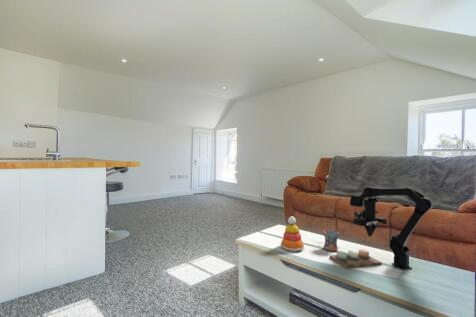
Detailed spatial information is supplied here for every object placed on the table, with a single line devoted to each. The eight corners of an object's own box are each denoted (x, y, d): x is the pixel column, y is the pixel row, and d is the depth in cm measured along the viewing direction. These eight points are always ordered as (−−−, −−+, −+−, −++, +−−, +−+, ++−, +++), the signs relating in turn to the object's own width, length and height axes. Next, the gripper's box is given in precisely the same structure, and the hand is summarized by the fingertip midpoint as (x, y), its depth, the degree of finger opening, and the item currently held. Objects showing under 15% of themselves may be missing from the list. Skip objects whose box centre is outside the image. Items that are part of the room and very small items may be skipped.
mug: (336, 253, 137) (336, 235, 137) (320, 249, 143) (320, 232, 143) (342, 247, 147) (342, 231, 147) (327, 244, 152) (327, 227, 153)
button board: (362, 255, 136) (363, 251, 136) (381, 265, 123) (381, 261, 123) (329, 258, 130) (329, 254, 130) (345, 268, 118) (345, 264, 118)
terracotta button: (364, 253, 133) (364, 249, 133) (371, 257, 128) (371, 252, 128) (356, 254, 132) (356, 249, 132) (363, 257, 127) (363, 253, 127)
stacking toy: (309, 249, 142) (309, 217, 142) (293, 254, 134) (293, 220, 134) (291, 242, 154) (292, 213, 154) (275, 246, 146) (276, 215, 146)
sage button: (342, 255, 130) (342, 250, 130) (349, 259, 125) (349, 254, 125) (335, 255, 128) (335, 251, 128) (341, 259, 123) (341, 255, 123)
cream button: (353, 254, 131) (353, 250, 131) (360, 258, 126) (360, 253, 126) (345, 255, 130) (346, 250, 130) (352, 258, 125) (352, 254, 125)
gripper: (371, 205, 144) (371, 231, 144) (346, 206, 139) (346, 233, 139) (387, 209, 133) (387, 236, 133) (360, 210, 128) (360, 239, 128)
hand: (369, 236), depth 133 cm, fingers closed
